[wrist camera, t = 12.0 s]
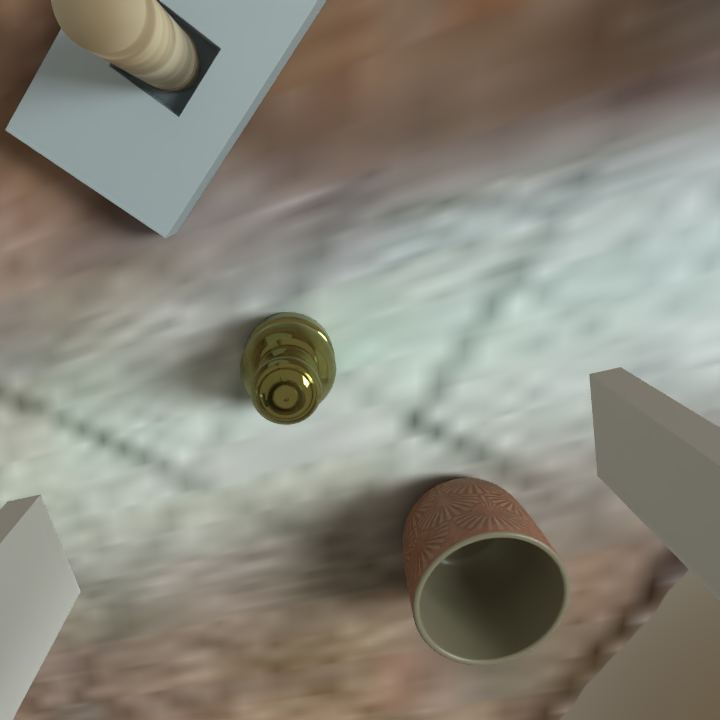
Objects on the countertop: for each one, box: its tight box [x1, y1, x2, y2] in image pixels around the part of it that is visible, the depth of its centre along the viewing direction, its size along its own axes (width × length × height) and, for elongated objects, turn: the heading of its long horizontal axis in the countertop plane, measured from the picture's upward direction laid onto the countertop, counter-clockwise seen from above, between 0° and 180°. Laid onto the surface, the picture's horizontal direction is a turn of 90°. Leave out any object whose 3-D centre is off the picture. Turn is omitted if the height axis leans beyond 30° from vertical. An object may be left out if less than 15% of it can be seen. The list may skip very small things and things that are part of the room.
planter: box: [402, 478, 570, 665], centre depth 51 cm, size 12×12×11 cm
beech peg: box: [51, 0, 201, 92], centre depth 34 cm, size 4×4×16 cm
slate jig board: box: [5, 0, 327, 238], centre depth 41 cm, size 20×12×4 cm, turn 143°
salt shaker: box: [240, 313, 336, 425], centre depth 45 cm, size 7×7×10 cm
